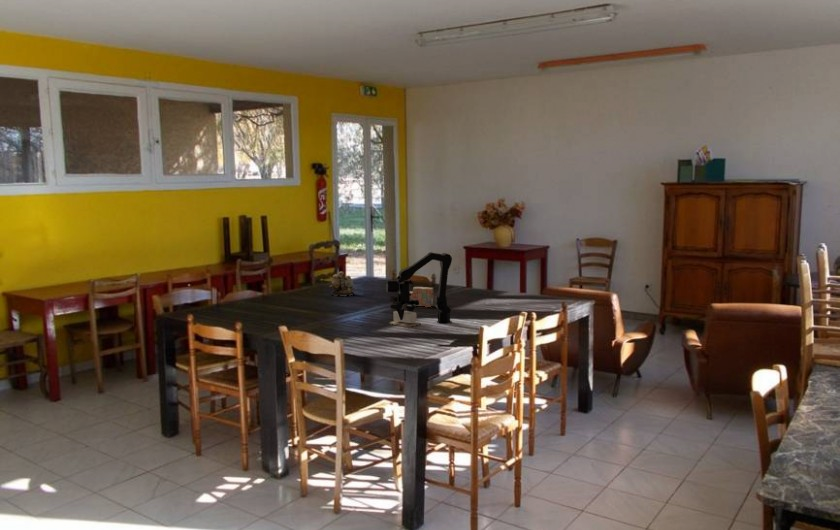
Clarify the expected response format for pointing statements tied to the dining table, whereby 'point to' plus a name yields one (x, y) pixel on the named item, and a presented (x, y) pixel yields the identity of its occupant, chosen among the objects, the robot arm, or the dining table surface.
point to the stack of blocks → (422, 296)
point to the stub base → (404, 323)
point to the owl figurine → (342, 284)
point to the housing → (405, 317)
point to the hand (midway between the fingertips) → (405, 319)
